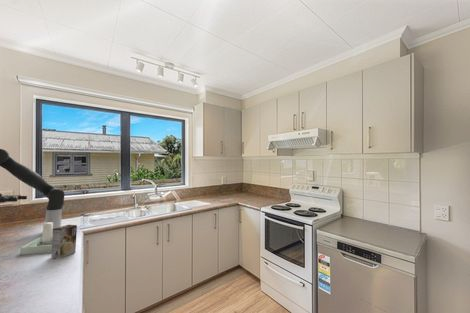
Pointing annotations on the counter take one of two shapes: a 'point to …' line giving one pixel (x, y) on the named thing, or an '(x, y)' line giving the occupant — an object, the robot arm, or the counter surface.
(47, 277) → the counter surface
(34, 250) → the sage box
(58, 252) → the coffee box
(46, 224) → the white cylinder
